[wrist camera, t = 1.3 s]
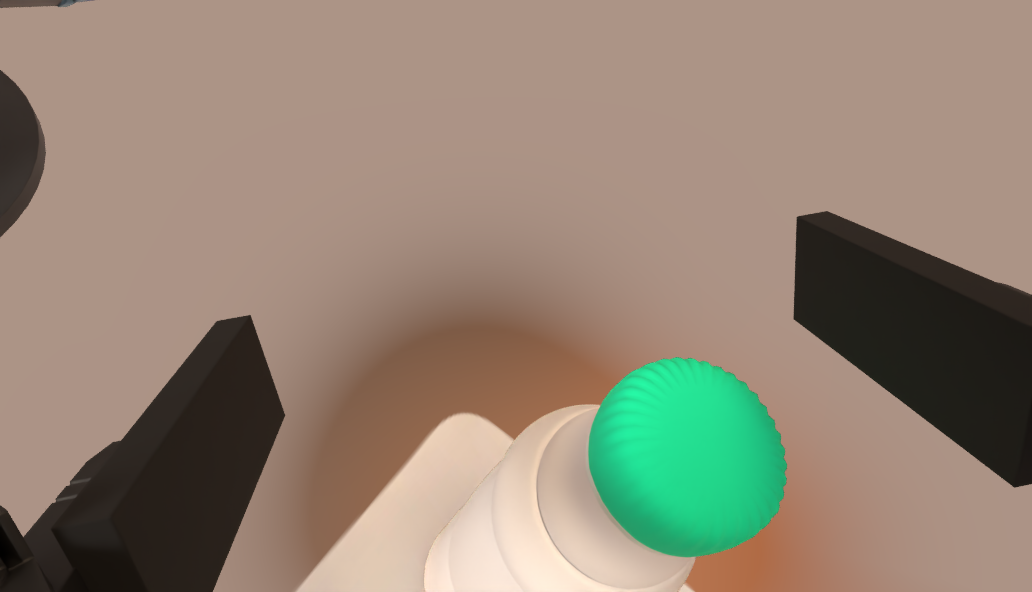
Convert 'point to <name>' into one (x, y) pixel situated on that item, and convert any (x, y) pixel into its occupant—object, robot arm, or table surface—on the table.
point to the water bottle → (620, 490)
